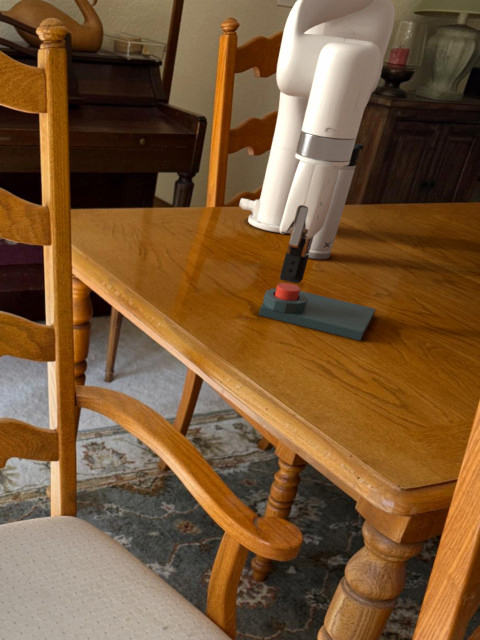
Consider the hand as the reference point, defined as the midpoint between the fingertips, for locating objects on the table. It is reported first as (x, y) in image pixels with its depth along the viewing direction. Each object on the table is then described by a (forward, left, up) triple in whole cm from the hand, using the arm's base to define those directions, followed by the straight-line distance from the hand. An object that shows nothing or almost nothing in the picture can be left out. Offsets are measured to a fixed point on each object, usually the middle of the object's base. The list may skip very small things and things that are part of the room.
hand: (290, 280), depth 112 cm
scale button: (0, 0, -3) cm, 3 cm away
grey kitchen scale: (+5, +3, -6) cm, 8 cm away
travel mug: (-3, +37, -6) cm, 38 cm away
